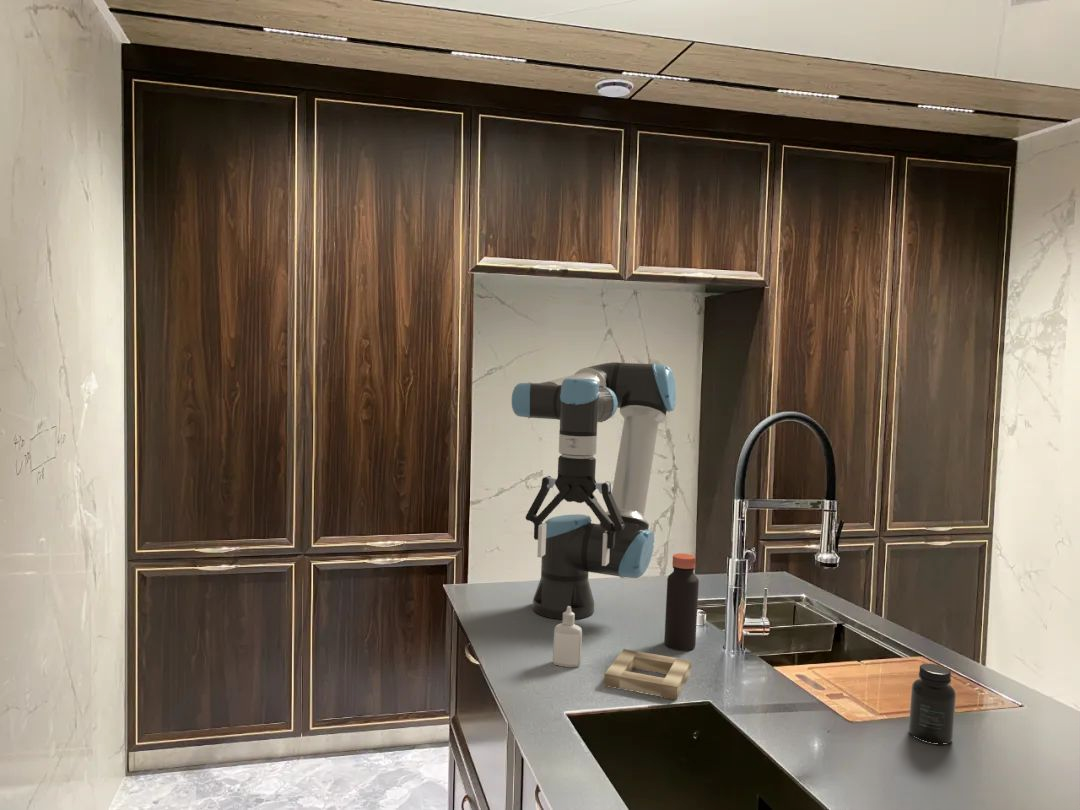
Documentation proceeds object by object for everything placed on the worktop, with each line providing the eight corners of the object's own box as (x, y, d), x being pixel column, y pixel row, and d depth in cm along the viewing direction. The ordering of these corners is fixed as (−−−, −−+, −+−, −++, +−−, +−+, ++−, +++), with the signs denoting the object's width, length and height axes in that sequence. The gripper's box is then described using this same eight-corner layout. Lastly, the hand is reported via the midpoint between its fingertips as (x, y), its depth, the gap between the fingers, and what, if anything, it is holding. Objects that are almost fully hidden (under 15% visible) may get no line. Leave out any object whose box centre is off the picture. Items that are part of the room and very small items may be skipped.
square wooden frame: (623, 660, 168) (623, 648, 168) (690, 672, 163) (691, 660, 163) (604, 686, 155) (604, 673, 155) (676, 700, 150) (677, 687, 150)
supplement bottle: (914, 723, 144) (919, 657, 143) (956, 736, 140) (961, 668, 139) (903, 736, 139) (908, 668, 138) (946, 750, 135) (952, 680, 134)
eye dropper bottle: (570, 671, 162) (573, 612, 161) (549, 663, 165) (551, 605, 165) (584, 665, 165) (586, 607, 164) (562, 657, 169) (564, 601, 168)
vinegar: (693, 641, 181) (698, 553, 180) (696, 652, 174) (701, 561, 173) (663, 638, 182) (667, 551, 180) (664, 650, 175) (669, 559, 174)
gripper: (512, 452, 163) (508, 556, 164) (633, 463, 154) (628, 572, 156) (525, 448, 170) (522, 548, 171) (642, 458, 161) (637, 563, 163)
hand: (572, 560), depth 164 cm, fingers open, 13 cm apart
